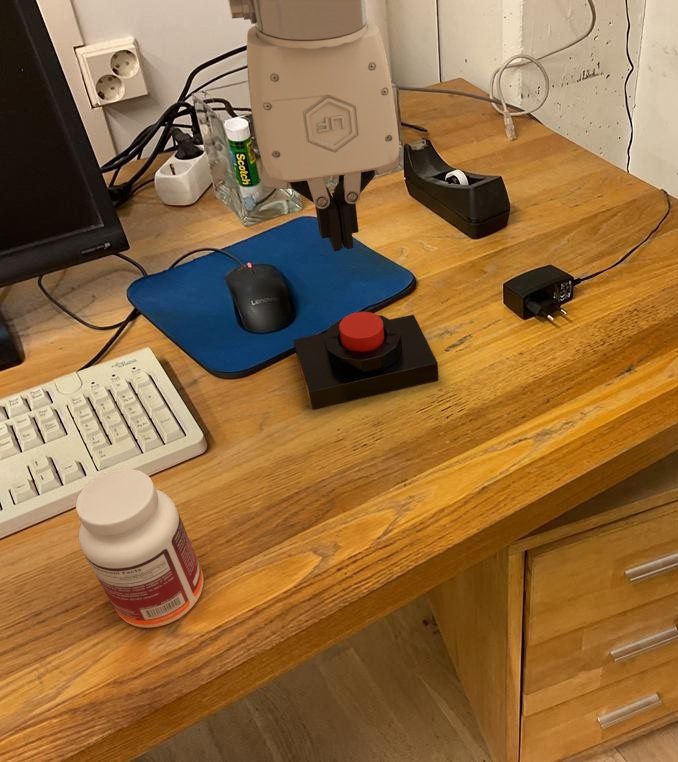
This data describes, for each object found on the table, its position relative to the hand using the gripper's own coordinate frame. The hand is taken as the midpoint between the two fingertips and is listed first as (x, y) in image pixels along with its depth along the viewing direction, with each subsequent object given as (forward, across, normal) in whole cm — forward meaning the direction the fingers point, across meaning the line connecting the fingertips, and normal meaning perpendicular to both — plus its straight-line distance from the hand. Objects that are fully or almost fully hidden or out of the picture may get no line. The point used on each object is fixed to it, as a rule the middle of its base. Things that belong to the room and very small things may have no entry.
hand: (340, 241), depth 67 cm
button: (+11, +1, +1) cm, 11 cm away
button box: (+15, +1, +1) cm, 15 cm away
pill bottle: (+15, -19, -18) cm, 31 cm away
